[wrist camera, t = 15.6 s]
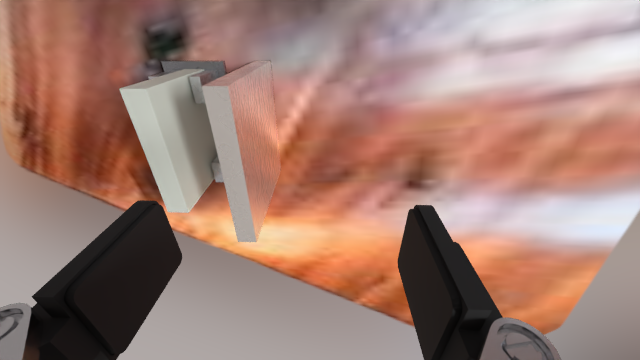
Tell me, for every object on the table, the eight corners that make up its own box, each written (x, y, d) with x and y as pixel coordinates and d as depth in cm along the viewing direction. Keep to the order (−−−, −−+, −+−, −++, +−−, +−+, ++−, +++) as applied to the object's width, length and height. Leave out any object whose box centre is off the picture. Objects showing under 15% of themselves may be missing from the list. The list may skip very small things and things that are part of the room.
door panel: (184, 68, 33) (119, 88, 23) (203, 68, 33) (146, 88, 23) (209, 164, 40) (168, 212, 30) (225, 164, 40) (188, 212, 30)
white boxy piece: (163, 60, 33) (46, 85, 19) (270, 60, 33) (227, 86, 19) (195, 168, 41) (129, 239, 28) (281, 169, 41) (256, 242, 27)
